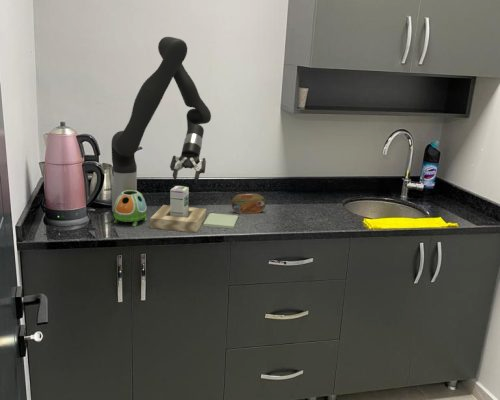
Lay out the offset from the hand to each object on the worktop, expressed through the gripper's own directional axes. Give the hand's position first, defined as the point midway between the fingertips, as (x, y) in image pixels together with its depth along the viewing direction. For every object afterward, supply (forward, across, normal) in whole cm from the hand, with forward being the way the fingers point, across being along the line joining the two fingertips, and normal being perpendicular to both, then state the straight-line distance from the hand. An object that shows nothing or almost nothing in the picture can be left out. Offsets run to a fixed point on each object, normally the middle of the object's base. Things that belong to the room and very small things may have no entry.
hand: (185, 179), depth 204 cm
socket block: (+17, 0, +5) cm, 18 cm away
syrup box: (+17, 0, +5) cm, 18 cm away
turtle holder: (+19, -19, +4) cm, 27 cm away
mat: (+13, +16, +9) cm, 23 cm away
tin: (+2, +25, +21) cm, 33 cm away
